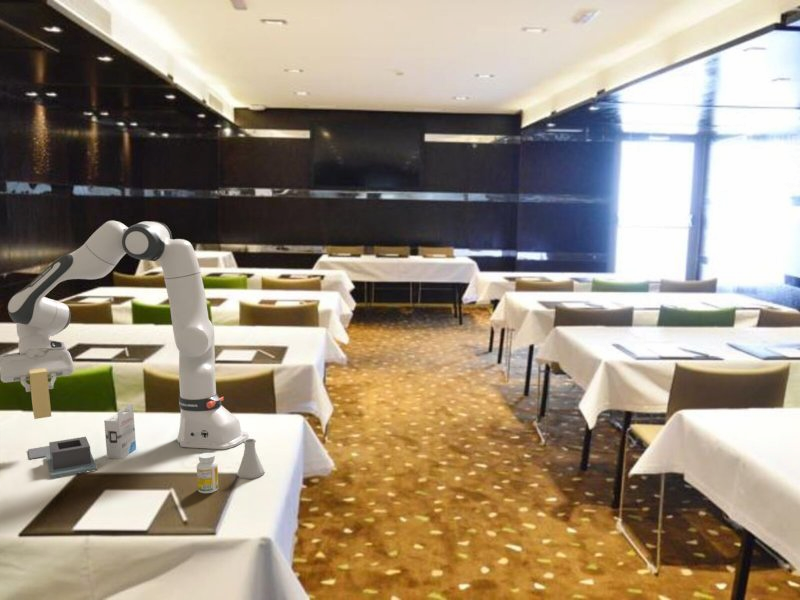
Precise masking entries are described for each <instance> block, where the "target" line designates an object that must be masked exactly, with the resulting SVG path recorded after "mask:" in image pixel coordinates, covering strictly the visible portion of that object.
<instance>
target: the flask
mask: <svg viewBox="0 0 800 600" xmlns="http://www.w3.org/2000/svg"><path fill="white" fill-rule="evenodd" d="M256 442H257V440H256V439H255V438H247V439H246V440H244V441H243V442H242V443H243V444H244V450H243V455H242V459H241V463H240V465H239V468H238V471H237V473H236V476H238V477H240V478H241V479H245V480H246V479H247V480H248V479H249V480H252V479H256V478H259V477H261V476H263V475H264V474H265V473H266V472H265V469H264V468H263V465H262V463H261V460H260V458H259V455H258V454H257V450H256V449H257V448H256Z"/></svg>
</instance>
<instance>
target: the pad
mask: <svg viewBox="0 0 800 600" xmlns="http://www.w3.org/2000/svg"><path fill="white" fill-rule="evenodd" d="M27 452H28V458H29V460H36V459H37V460H38V459H43V458H46V455H49V454H50V446H49V445H46V446H40V447H39V446H38V447H34V448H28V449H27Z"/></svg>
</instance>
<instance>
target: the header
mask: <svg viewBox="0 0 800 600" xmlns="http://www.w3.org/2000/svg"><path fill="white" fill-rule="evenodd" d="M48 446H50V458H51V462H52V466H53V470H55V469H61V468H66V467H72V466H78V465H84V464H89V463H91V454H92V452H91V446H90V443H89V440H88V439H87V436H82V437H81V436H80V437H75V438H70V439H69V438H67V439H63V440H57V441H56V440H55V441H50V442H49V443H48Z"/></svg>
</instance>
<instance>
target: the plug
mask: <svg viewBox="0 0 800 600" xmlns="http://www.w3.org/2000/svg"><path fill="white" fill-rule="evenodd" d="M29 374H30V380H29V384H31V391H30V393H31V403H32V413H33V418H34V420H37V419H44V418H45V419H46V418H51V417H52V410H51V409H52V408H51V407H52V406H51V400H50V398H51V397H50V389H49V387H48V382H49V378H48V377H47V370H46V368H43V369H35V370H29Z"/></svg>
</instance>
